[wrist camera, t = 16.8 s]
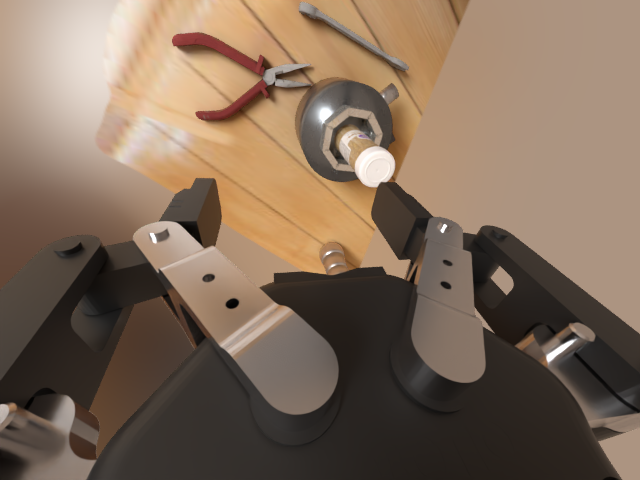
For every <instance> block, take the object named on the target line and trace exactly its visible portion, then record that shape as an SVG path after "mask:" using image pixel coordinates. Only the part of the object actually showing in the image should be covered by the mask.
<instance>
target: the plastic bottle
mask: <svg viewBox="0 0 640 480" xmlns="http://www.w3.org/2000/svg"><path fill="white" fill-rule="evenodd" d="M320 260H321V262H322V263H323V265H324V268H325V270H326V273H327V275H336V274H339V273H342V272H346V271H349V269H348V267H347V265H346V261H345V255H344V250H343V248H342V247H341V246H340V245H339V244H338V243H334V242H330V243H327V244H325V245H324V246H323V247H322V248H321V250H320Z"/></svg>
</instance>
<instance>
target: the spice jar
mask: <svg viewBox="0 0 640 480" xmlns="http://www.w3.org/2000/svg"><path fill="white" fill-rule="evenodd" d="M334 143H335V147H336V149H337V150H338V151H339V152H341V154H342V156H343V157H344V158H345V160H346V161H347V162H348V164H349V165H350V166H351V168H352V169H353V170H354V171H355V173H356V175H357V177H358V178H359V180H360V181H361V182H362V183H363V184H364V185H366V186H368V187H378V185H379V183H380V182H387V181H388V180H389V179H390V178H391V177H392V175H393V173H394V170H395V160H394V157H393V156H392V155H391V154H390V153H389V152H388V151H387V150H386V149H384V148H382V147H379V146H378V145H377V144H375V143H374V142H373V141H372V140H371V139H370V138H369V137H368V136H366V135H365V134H364V133H363V132H361V131H360V130H359V129H358V127H356V126H354V125H351V124H348V125H344V126H342V127H341V128H340V129H339V130H338V131H337V133H336V135H335V138H334Z"/></svg>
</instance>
